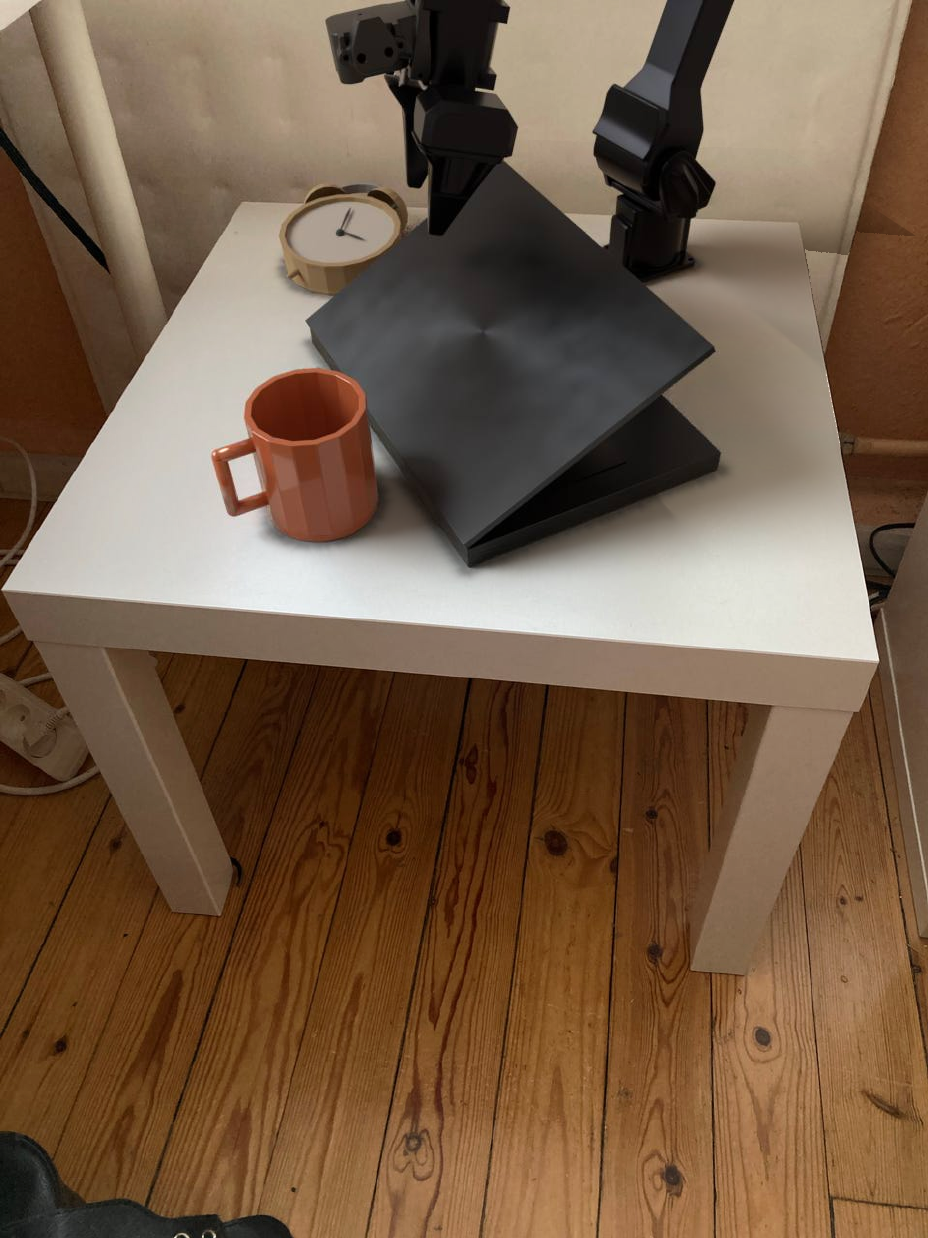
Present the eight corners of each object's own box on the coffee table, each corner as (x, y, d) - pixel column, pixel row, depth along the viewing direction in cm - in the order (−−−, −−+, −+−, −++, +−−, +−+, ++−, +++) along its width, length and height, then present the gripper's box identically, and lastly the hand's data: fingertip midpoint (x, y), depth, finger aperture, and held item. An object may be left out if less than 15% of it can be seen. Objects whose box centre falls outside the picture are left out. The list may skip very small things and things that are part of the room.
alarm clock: (262, 263, 92) (306, 155, 99) (274, 305, 96) (315, 199, 103) (383, 273, 90) (419, 163, 97) (390, 315, 94) (424, 207, 101)
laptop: (524, 277, 94) (525, 258, 93) (717, 470, 77) (722, 451, 75) (312, 343, 89) (309, 324, 87) (468, 567, 71) (467, 549, 70)
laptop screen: (502, 162, 85) (499, 156, 84) (716, 352, 67) (714, 345, 67) (309, 325, 87) (304, 320, 87) (467, 550, 70) (463, 545, 69)
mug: (353, 452, 79) (338, 355, 72) (396, 518, 75) (385, 420, 68) (216, 499, 76) (187, 403, 69) (252, 571, 72) (225, 475, 65)
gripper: (326, -79, 72) (305, 152, 82) (361, -17, 58) (331, 250, 68) (478, -48, 75) (440, 170, 85) (545, 17, 61) (490, 267, 71)
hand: (424, 209), depth 77 cm, fingers open, 9 cm apart
